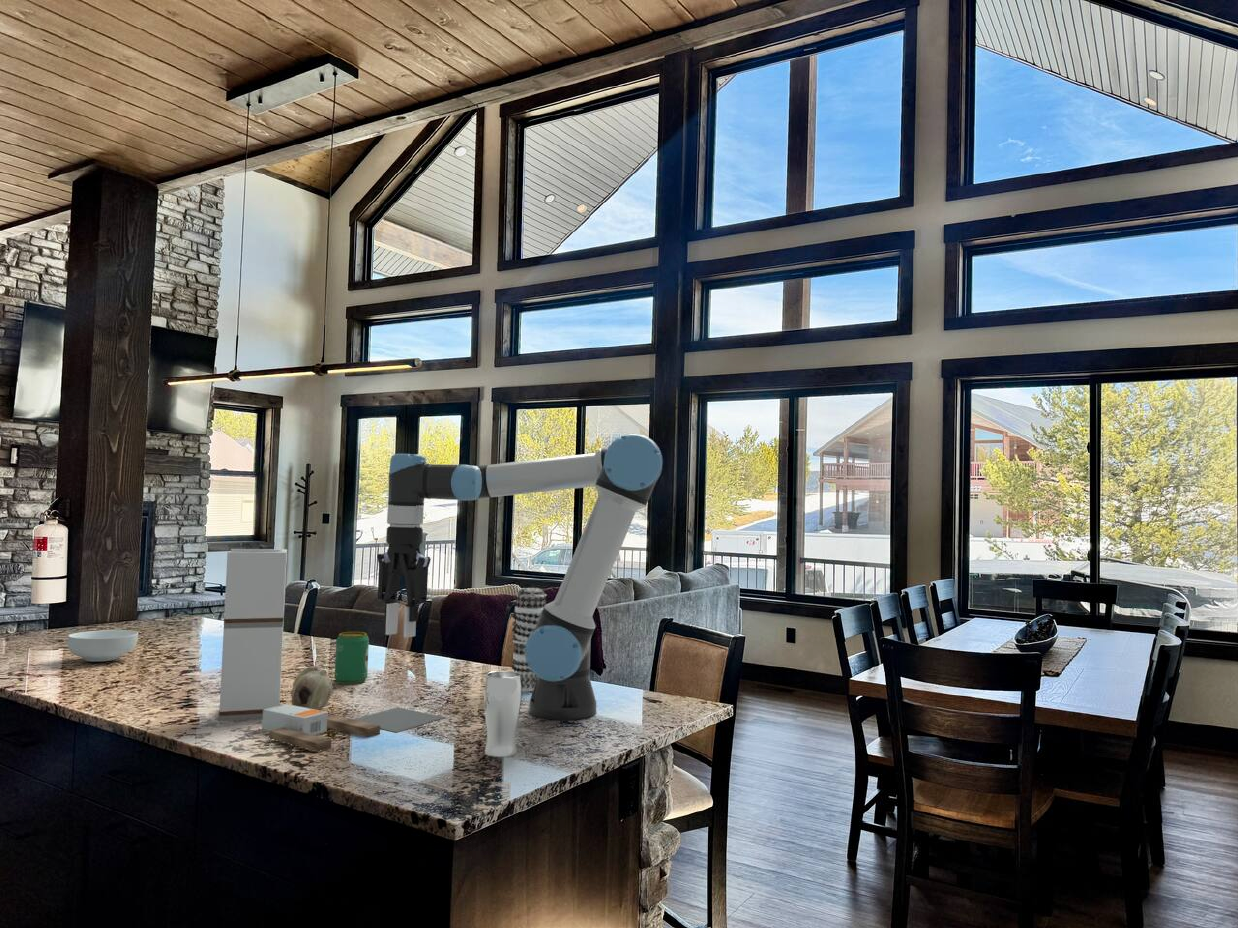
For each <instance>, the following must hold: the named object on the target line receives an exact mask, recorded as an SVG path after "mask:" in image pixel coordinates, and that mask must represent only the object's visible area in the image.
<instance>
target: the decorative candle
mask: <svg viewBox="0 0 1238 928" xmlns="http://www.w3.org/2000/svg"><path fill="white" fill-rule="evenodd" d="M514 595H515V606H514V610H513V611H512V612H513V613H512V616H511V617H512V618H513V620H514V621H512V626H513V627H512V630H511V631H512V633H513V634H514V635H512V642H513V643H514V647H513V648H514V649H513V650H514V651H513V655H512V658H513V659H512V660H511V663H512V664H513V665H511V669H512V671H515V672H518V673H520V674H521V692H533V690H534V687H535V684H536V682H537V679H538V676H537V675H535V674H534V673H533V672H532V671H531V669H530V668H529V666H528V664H527V662H526V658H525V647H526V642H527V640H528V638H529V636H530V635H531V633H532V632H534V630H535V627H536V625H537V623H538V620H539V618H540V614H541V611H542V610H543V608H544V606H545V605H546V597H547V595H548V594H546V593H545V592H544V590H543V589H542V588H539V587H522V588H520V589H519V590H518V592H517V593H516V594H514Z"/></svg>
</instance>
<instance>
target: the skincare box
mask: <svg viewBox="0 0 1238 928" xmlns="http://www.w3.org/2000/svg"><path fill="white" fill-rule="evenodd" d="M327 716H328V712H327V711H323V710H321V711H320V710H315V709H309V708H304V707H299V706H294V705H292V704H287V703H286V704H282V705H280V706H277V707H272V708H268V709H264V710H263V718H262V720H261V721H262V723H261V729H262V730H263V731H264V730H265V731H268V732H269V731H270V730H274V729H278V728H282V727H283V728H287V729H291V730H295V731H299V732H303V733H307V734H311V735H315V736H317V735H318V734H323V733H325V732H328V731H327V730H328V728H327Z"/></svg>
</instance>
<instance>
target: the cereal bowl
mask: <svg viewBox="0 0 1238 928" xmlns="http://www.w3.org/2000/svg"><path fill="white" fill-rule="evenodd" d="M138 639H139V632H138V631H135V630H129V629H128V630H127V629H106V630H105V629H104V630H103V629H102V630H101V629H100V630H90V631H89V630H88V631H80V632H73V633H70V634H67V639H66V640H67V641H66V642H67V644H66V645H67V648H68V651H69V652H70V653H71V654H72V655H74V656H76V657H79V658H82V659H84V661H86V662H108V661H110V662H111V661H115V660H117V659H119V658H120V657H121V656H124V655H126V654H129V652H132V650H134V649H135V647H136V645H137V643H138Z"/></svg>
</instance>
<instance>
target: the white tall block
mask: <svg viewBox="0 0 1238 928" xmlns="http://www.w3.org/2000/svg"><path fill="white" fill-rule="evenodd" d="M226 554H227V556H226V574H225V575H226V577H225V592H224V593H225V594H224V612H223V613H224V615H223V616H224V617H223V632H222V633H223V634H222V635H223V636H222V652H221V653H222V655H221V674H220V675H221V676H220V677H221V678H220V694H219V715H218V716H219V717H218V722H219V721H220V722H222V721H238V720H239V721H241V720H253V719H254V720H256V719H263V710H264V709H268V708H272V707H277V706H281V705H280V704H281V685H282V667H283V665H282V664H283V645H284V644H283V642H284V641H283V639H284V624H285V622H284V621H285V602H286V601H285V600H286V579H287V578H286V577H287V562H288V561H287V558H288V549H287V548H285V549H283V548H282V549H280V548H277V549H276V548H275V549H274V548H272V549H271V548H268V549H267V548H262V549H260V548H247V549H246V548H231V549H230V551H227V553H226Z"/></svg>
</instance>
